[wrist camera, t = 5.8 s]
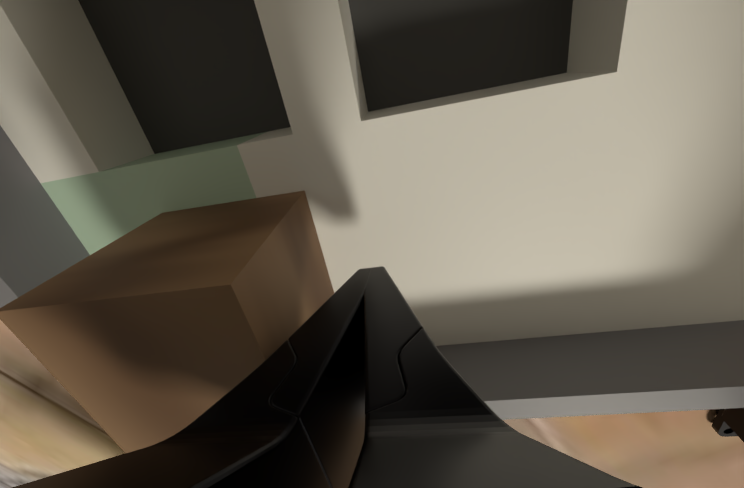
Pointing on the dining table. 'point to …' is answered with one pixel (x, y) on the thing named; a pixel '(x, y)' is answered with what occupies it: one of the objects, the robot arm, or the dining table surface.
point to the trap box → (419, 168)
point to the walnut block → (175, 312)
